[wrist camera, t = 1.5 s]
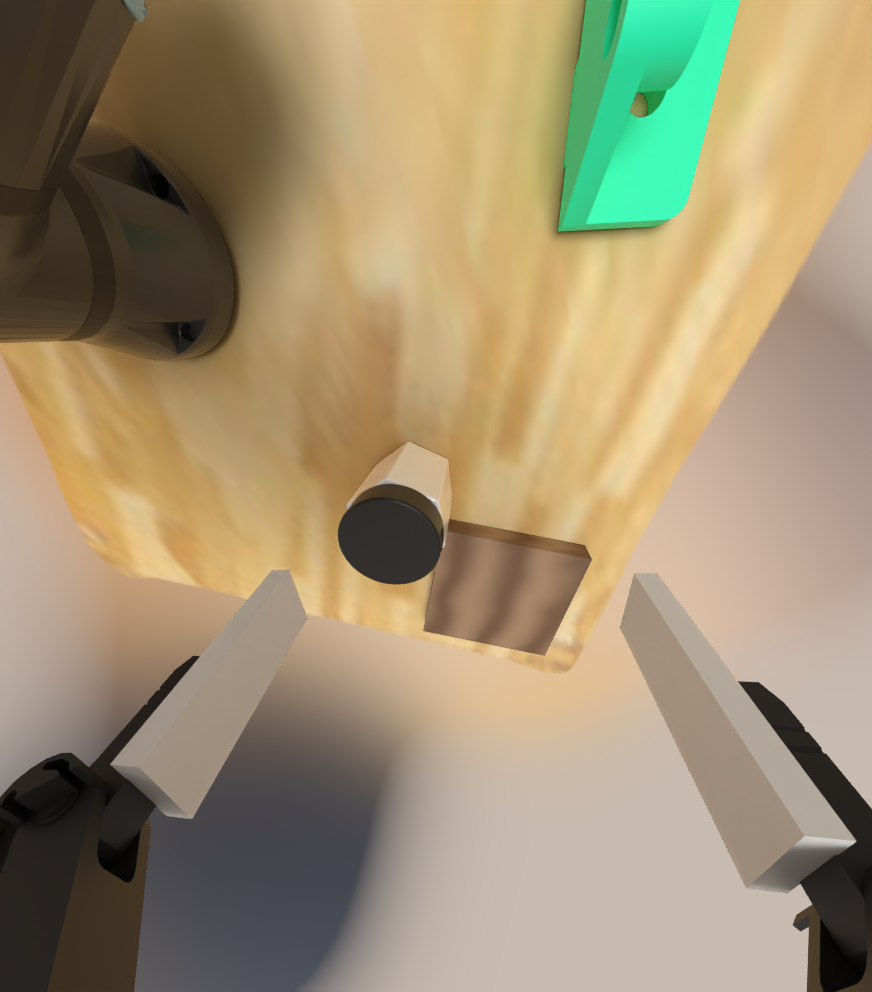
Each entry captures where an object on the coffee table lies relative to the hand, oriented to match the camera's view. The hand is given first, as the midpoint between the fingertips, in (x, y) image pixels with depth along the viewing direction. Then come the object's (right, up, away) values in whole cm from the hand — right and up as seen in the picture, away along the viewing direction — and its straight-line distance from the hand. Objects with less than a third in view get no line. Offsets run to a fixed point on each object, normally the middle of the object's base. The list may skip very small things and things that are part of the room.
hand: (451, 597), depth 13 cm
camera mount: (+12, +29, +9) cm, 33 cm away
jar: (-3, +6, +22) cm, 23 cm away
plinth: (+7, -7, +27) cm, 29 cm away
